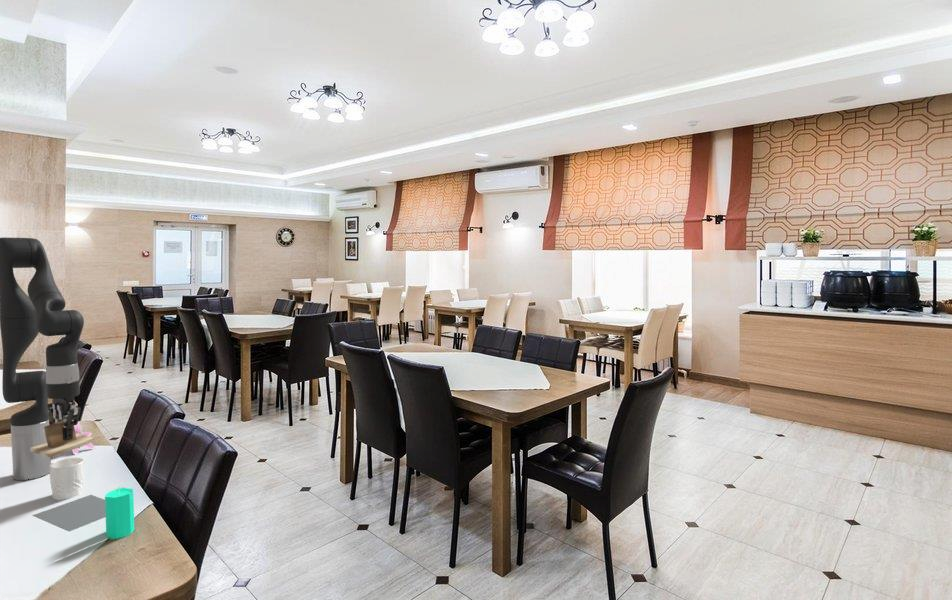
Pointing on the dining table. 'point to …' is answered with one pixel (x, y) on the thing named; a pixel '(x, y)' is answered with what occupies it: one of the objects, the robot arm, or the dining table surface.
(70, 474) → the white cup
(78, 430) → the lily
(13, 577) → the dining table surface
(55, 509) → the mat
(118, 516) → the candle
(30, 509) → the dining table surface
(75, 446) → the lid
